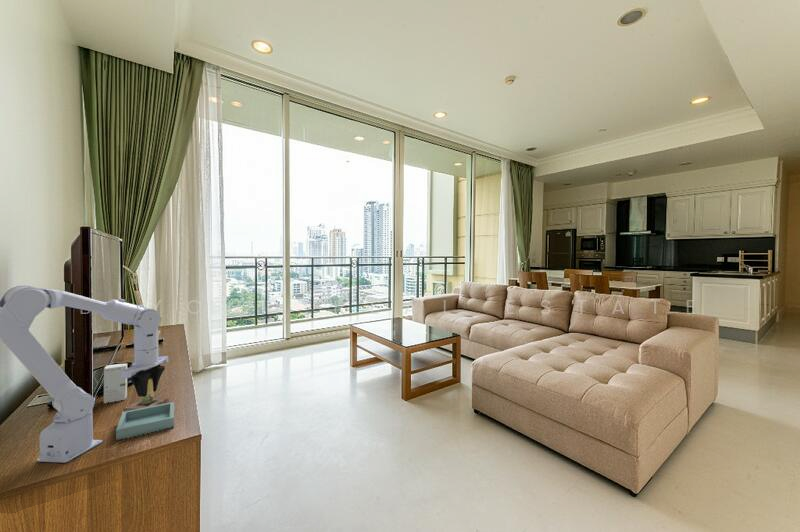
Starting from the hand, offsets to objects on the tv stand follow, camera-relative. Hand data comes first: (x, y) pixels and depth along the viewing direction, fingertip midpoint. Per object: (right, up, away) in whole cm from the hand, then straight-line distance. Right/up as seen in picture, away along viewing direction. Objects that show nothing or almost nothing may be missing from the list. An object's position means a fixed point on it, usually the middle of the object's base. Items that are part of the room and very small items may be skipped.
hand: (147, 393), depth 100 cm
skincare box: (-25, -9, +18) cm, 32 cm away
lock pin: (0, -2, 0) cm, 2 cm away
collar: (-9, -9, +12) cm, 18 cm away
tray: (0, -9, 0) cm, 9 cm away
